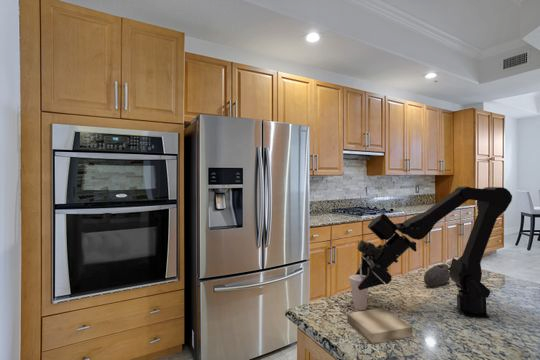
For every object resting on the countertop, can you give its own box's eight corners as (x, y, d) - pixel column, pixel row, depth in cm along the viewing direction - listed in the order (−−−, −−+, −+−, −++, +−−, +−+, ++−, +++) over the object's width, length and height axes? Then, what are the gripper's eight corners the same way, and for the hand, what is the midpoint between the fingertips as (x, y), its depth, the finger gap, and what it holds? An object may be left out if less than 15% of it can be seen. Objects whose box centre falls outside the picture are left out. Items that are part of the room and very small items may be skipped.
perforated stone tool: (431, 290, 105) (431, 271, 105) (418, 286, 110) (417, 268, 110) (454, 283, 112) (453, 265, 112) (440, 279, 117) (440, 262, 117)
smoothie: (371, 312, 88) (370, 267, 88) (350, 311, 89) (349, 266, 90) (369, 304, 94) (367, 261, 95) (349, 302, 96) (347, 261, 96)
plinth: (383, 316, 86) (382, 307, 86) (412, 336, 74) (412, 326, 74) (347, 321, 82) (347, 313, 83) (372, 344, 71) (372, 333, 71)
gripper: (367, 227, 101) (336, 258, 102) (379, 237, 82) (340, 274, 84) (391, 250, 99) (359, 281, 101) (408, 265, 81) (369, 302, 82)
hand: (356, 283), depth 92 cm, fingers open, 9 cm apart
